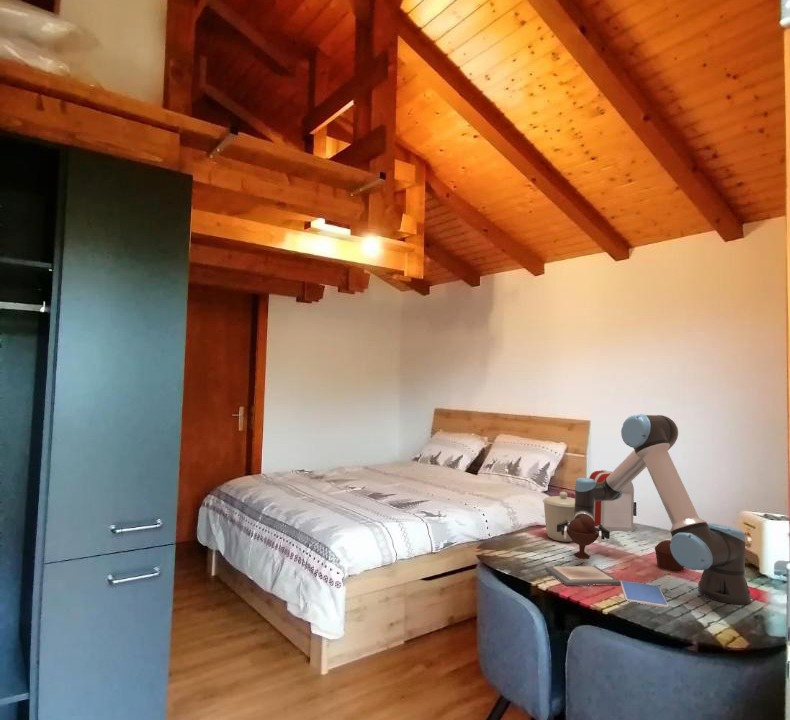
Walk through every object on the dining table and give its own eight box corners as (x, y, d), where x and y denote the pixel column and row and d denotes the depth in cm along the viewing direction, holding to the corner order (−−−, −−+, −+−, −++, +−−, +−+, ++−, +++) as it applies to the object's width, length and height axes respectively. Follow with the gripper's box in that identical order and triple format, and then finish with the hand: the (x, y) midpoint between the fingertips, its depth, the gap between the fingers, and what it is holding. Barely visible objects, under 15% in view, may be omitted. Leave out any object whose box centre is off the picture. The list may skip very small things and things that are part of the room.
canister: (587, 538, 246) (588, 491, 247) (577, 547, 231) (579, 497, 232) (547, 531, 256) (549, 486, 257) (536, 539, 240) (537, 491, 242)
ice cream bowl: (592, 552, 199) (594, 511, 199) (601, 563, 188) (602, 519, 188) (563, 550, 200) (564, 509, 200) (570, 560, 189) (571, 517, 189)
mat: (620, 585, 187) (620, 581, 187) (566, 586, 184) (566, 582, 184) (595, 569, 203) (595, 566, 203) (545, 570, 199) (545, 566, 199)
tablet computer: (619, 583, 191) (619, 579, 191) (659, 588, 187) (659, 584, 187) (625, 603, 172) (625, 599, 172) (669, 610, 168) (669, 605, 169)
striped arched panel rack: (616, 522, 279) (618, 470, 281) (634, 532, 262) (635, 476, 263) (585, 521, 278) (587, 469, 280) (600, 531, 261) (602, 474, 262)
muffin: (655, 560, 217) (656, 535, 218) (687, 566, 211) (687, 540, 212) (652, 568, 207) (653, 542, 207) (685, 575, 201) (686, 547, 202)
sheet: (612, 580, 188) (612, 578, 188) (570, 580, 185) (570, 579, 186) (592, 567, 201) (592, 566, 201) (552, 568, 198) (552, 566, 198)
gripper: (615, 536, 207) (617, 552, 186) (551, 528, 215) (547, 542, 194) (616, 517, 207) (618, 530, 187) (552, 509, 215) (548, 521, 195)
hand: (582, 536), depth 190 cm, fingers closed on ice cream bowl, 11 cm apart
